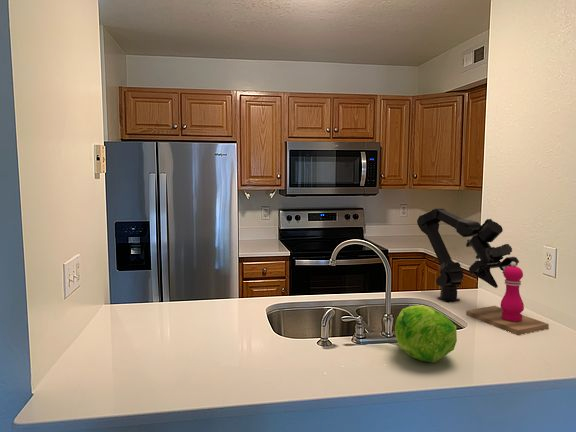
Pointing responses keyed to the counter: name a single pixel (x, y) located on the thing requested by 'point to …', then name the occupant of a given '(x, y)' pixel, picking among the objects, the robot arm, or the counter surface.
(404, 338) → the lettuce
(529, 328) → the walnut board
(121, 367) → the counter surface
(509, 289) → the pepper mill
